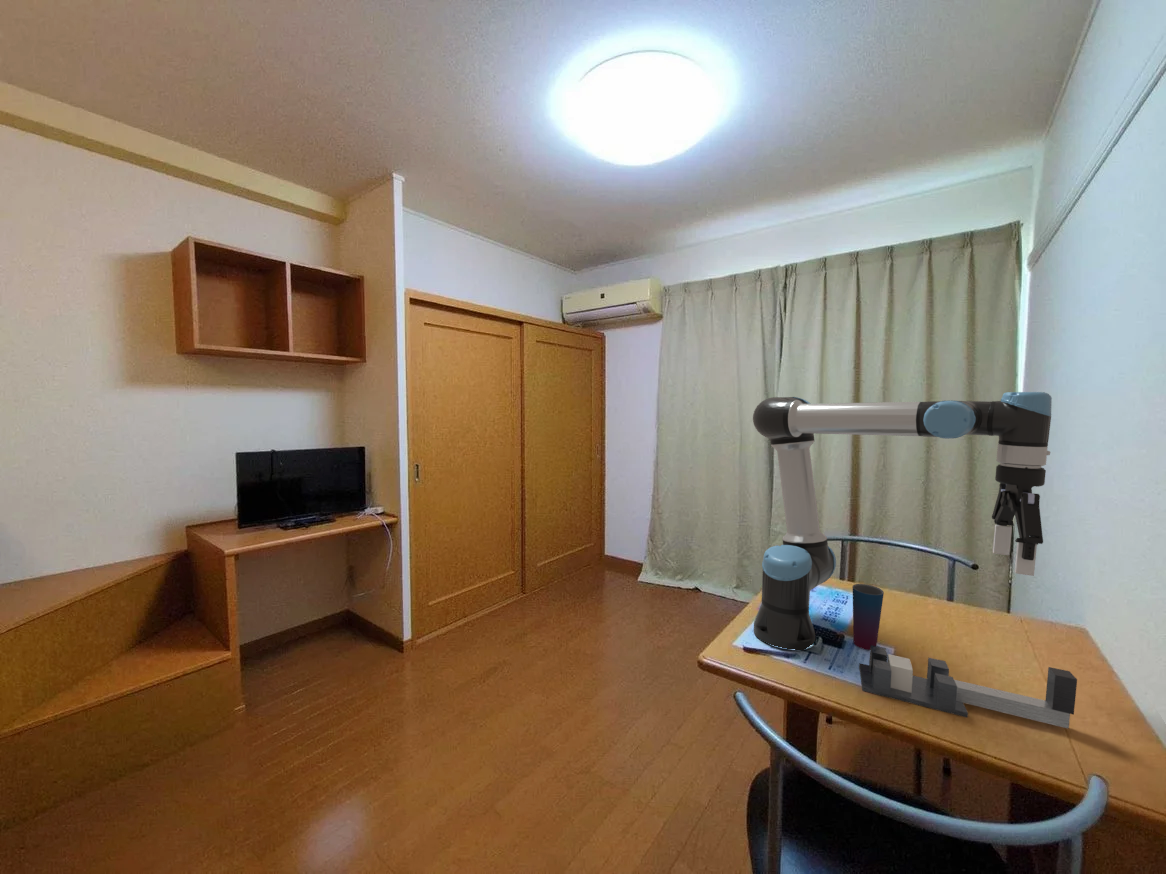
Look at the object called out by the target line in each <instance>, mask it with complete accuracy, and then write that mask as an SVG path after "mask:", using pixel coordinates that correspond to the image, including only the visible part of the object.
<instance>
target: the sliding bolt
mask: <svg viewBox="0 0 1166 874" xmlns="http://www.w3.org/2000/svg"><path fill="white" fill-rule="evenodd" d="M954 681H955V683H956V685H957V695H956V701H958V702H962V703H964V704H966V705H971V706H975V707H978V708H983V709H986V710H992V711H996V712H999V713H1004V714H1007V715H1012V716H1016V717H1019V718H1024V719H1026V720H1027V719H1028V720H1032V721H1035V722H1040V723H1044V724H1049V725H1051V726H1052V725H1053V726H1055V727H1059V728H1060V727H1061V728H1064V729H1069V727H1070V720H1071V719H1070V718H1071V715H1074V714H1075V708H1076V707H1075V706H1076V705H1075V704H1076V698H1077V697H1076V695H1077V685H1078V678H1077V677H1076V676H1075V675H1073V673H1072V672H1071V671H1070V670H1065V669H1061V668H1055V667H1051V666H1048V669H1047V680H1046V689H1045V700H1044V699H1041V698H1035V697H1032V696H1031V697H1030V696H1028V695H1022V694H1018V693H1014V692H1010V691H1006V690H1001V689H996V688H991V687H988V686H984V685H978V684H975V683H971V682H965V681H962V680H957V679H954Z"/></svg>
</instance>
